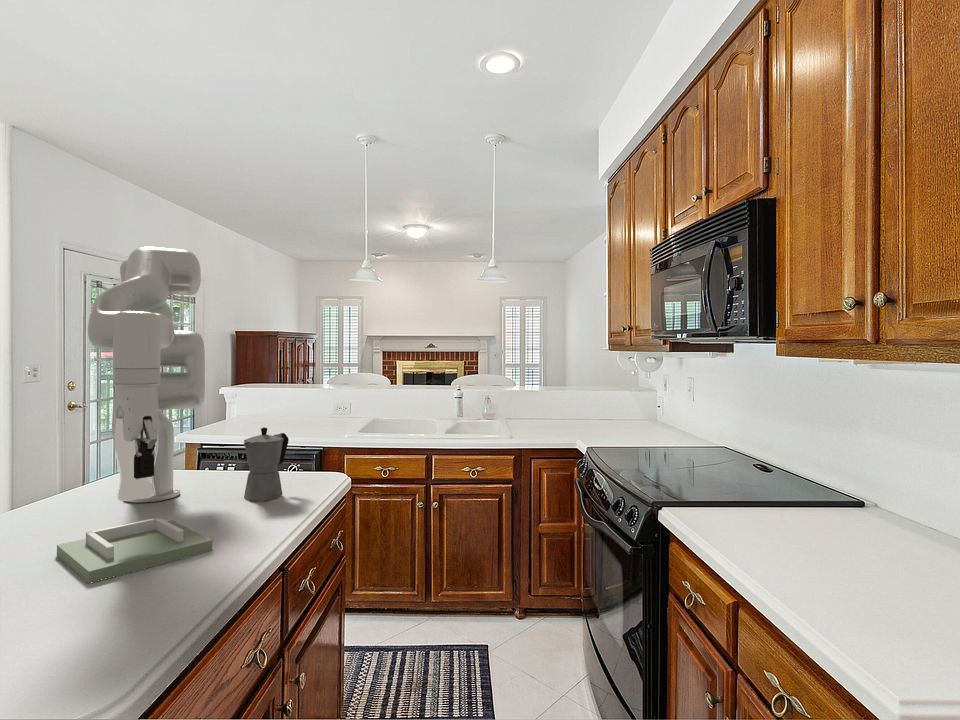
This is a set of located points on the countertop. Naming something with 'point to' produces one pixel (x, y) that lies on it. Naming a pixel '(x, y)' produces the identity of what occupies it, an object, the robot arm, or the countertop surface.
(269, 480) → the coffeepot
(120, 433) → the beer glass
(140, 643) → the countertop surface
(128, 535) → the plate
